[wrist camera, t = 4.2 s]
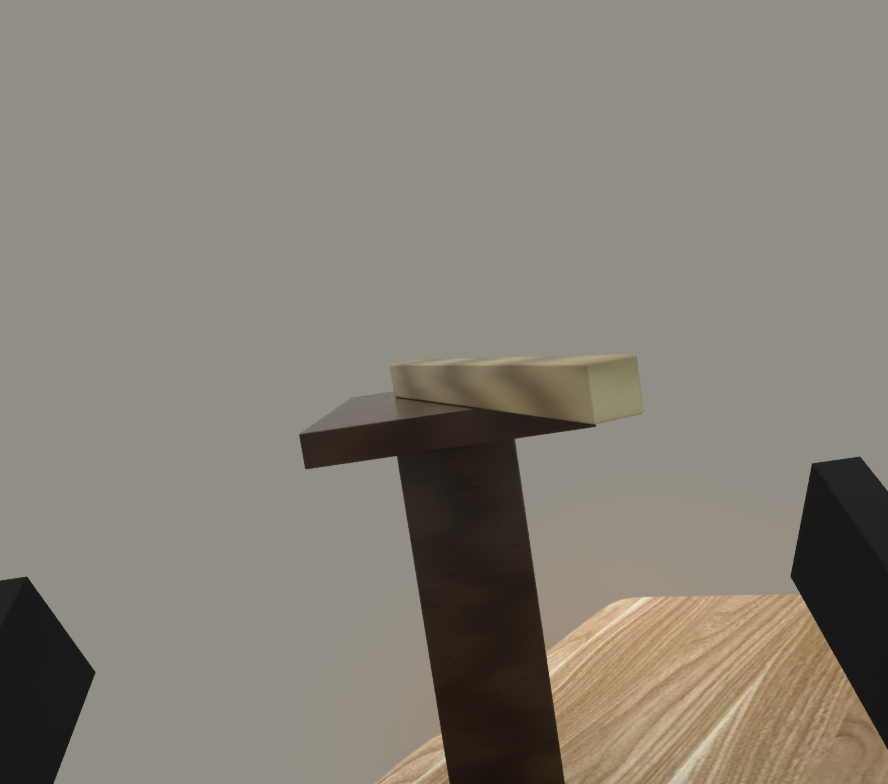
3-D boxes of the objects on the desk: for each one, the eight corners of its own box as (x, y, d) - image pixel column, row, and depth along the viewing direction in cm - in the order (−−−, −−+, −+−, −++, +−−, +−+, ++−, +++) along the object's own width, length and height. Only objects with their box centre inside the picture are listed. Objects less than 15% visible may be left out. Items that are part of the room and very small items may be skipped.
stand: (407, 1062, 33) (298, 433, 30) (424, 829, 48) (353, 396, 45) (678, 1032, 32) (591, 390, 29) (609, 806, 47) (548, 366, 44)
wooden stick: (645, 413, 22) (637, 353, 22) (593, 425, 21) (585, 363, 21) (425, 391, 40) (420, 359, 40) (394, 397, 40) (388, 364, 40)
